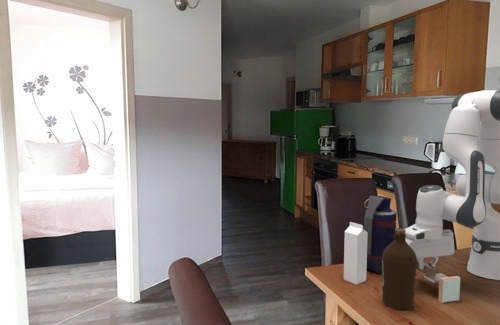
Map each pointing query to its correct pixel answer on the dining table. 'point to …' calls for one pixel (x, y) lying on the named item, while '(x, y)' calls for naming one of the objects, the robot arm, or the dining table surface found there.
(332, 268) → the dining table surface
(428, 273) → the turner
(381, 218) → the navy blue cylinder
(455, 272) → the dining table surface
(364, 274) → the milk
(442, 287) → the tile
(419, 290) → the dining table surface
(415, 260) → the olive oil
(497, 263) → the robot arm
